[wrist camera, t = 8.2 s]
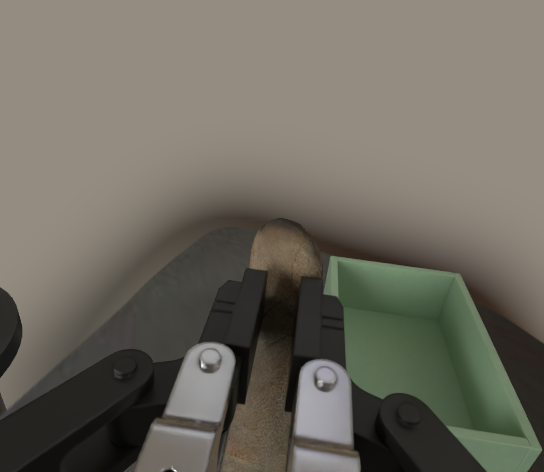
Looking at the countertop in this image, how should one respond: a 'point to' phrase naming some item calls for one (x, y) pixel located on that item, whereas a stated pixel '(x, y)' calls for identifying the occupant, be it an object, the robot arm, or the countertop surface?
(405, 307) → the bin
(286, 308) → the worn brown figurine
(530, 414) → the countertop surface
